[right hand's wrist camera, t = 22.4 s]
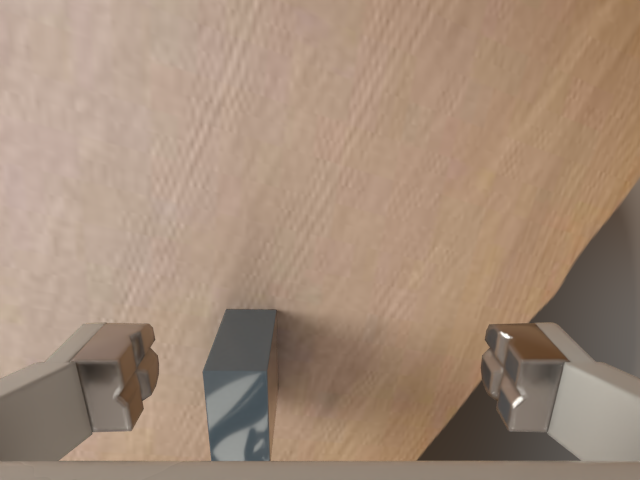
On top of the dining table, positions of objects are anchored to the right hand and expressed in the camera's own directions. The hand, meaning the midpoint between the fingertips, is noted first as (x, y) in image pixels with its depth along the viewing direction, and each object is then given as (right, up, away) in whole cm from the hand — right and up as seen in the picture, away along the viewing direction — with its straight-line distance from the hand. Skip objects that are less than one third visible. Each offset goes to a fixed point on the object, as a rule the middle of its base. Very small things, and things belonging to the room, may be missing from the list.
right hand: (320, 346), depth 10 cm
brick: (-6, -8, +28) cm, 29 cm away
